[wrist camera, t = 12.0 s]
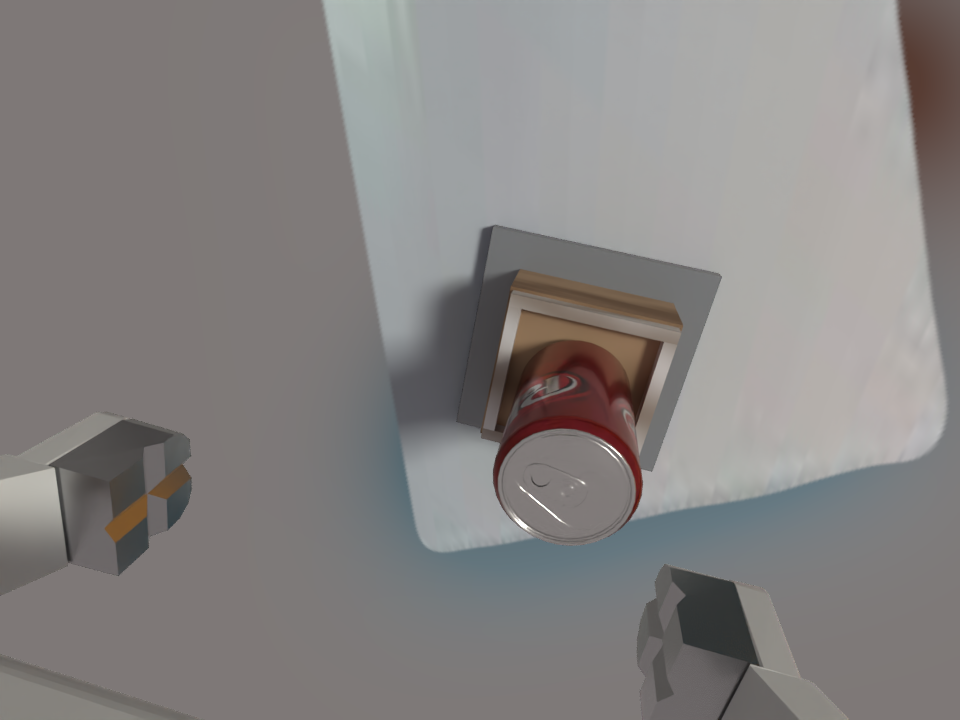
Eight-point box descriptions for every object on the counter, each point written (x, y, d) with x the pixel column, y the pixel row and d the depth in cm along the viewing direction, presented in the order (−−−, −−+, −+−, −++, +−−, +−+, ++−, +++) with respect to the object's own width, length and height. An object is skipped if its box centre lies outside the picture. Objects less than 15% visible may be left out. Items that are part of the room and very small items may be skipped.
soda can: (652, 371, 37) (675, 471, 26) (593, 453, 40) (592, 575, 29) (553, 316, 37) (535, 395, 26) (501, 403, 40) (465, 506, 29)
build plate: (495, 224, 42) (492, 226, 41) (719, 273, 40) (721, 276, 39) (459, 416, 48) (456, 421, 47) (650, 464, 46) (652, 471, 45)
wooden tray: (520, 268, 41) (508, 290, 36) (673, 303, 40) (685, 330, 35) (491, 402, 46) (477, 439, 40) (629, 436, 45) (634, 480, 39)
